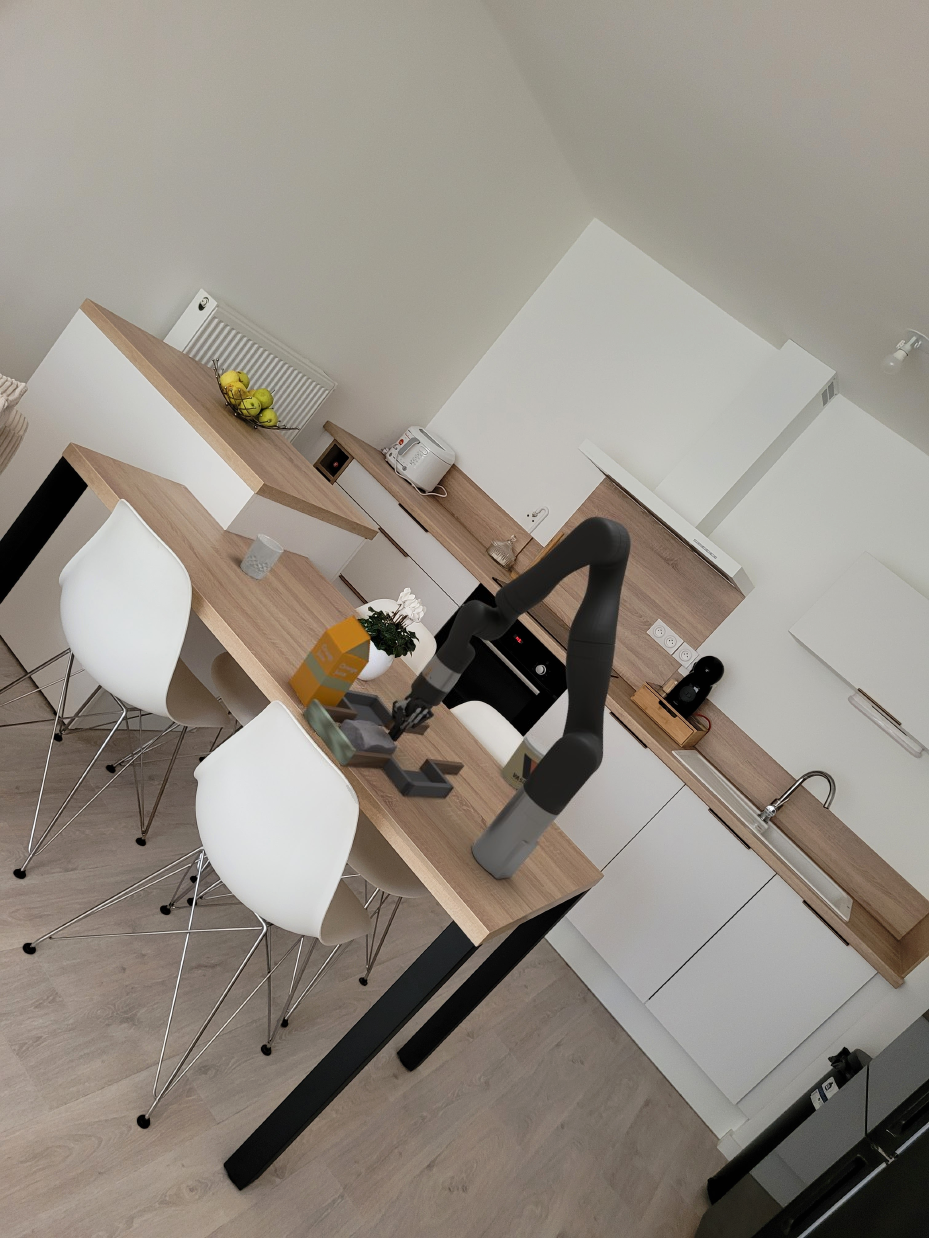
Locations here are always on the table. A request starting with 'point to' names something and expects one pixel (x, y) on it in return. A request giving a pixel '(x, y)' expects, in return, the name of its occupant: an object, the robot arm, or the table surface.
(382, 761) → the corridor
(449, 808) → the table surface
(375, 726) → the stone block
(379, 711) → the tray
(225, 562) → the table surface
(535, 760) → the beige canister
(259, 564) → the white cup
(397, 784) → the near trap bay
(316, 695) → the orange juice
